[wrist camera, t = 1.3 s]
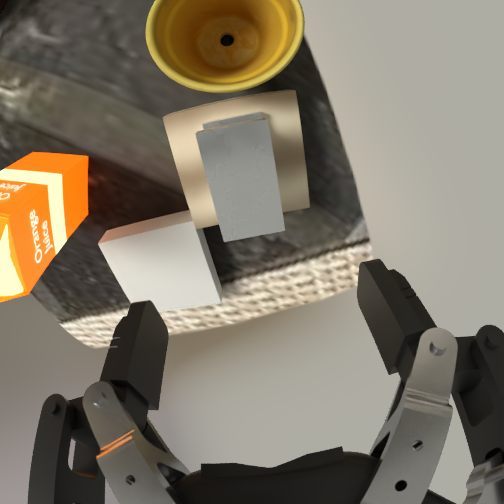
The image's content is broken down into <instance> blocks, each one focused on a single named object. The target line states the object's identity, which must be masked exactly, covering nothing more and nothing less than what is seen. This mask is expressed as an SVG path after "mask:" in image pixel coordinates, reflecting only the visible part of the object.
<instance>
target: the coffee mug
mask: <svg viewBox="0 0 504 504" xmlns="http://www.w3.org/2000/svg"><path fill="white" fill-rule="evenodd" d="M6 1H7V0H0V13H1V12H2V10H3V8H4V6H5V4H6Z"/></svg>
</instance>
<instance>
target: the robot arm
mask: <svg viewBox="0 0 504 504" xmlns="http://www.w3.org/2000/svg"><path fill="white" fill-rule="evenodd" d="M357 298H358V303H359V307H360V309H361V311H362V313H363V315H364V317H365V320H366V322H367V324H368V327H369V329H370V331H371V333H372V336H373V338H374V340H375V343H376V345H377V347H378V350H379V352H380V354H381V357H382V359H383V361H384V364H385V367H386V369H387V371H388V374H389V375H391V374H393V373H397V372H398V373H399V375H400V378H401V379H400V381H399V384H398V387H397V390H396V393H395V396H394V399H393V402H392V404H391V407H390V410H389V412H388V415H387V417H386V420H385V423H384V425H383V427H382V429H381V430H380V432H379V434H378V436H377V438H376V440H375V442H374V444H373V446H372V449H371V451H370V453H369V455H367V454H363V453H358V452H343V449H342V446H341V447H338V448H333V449H329V450H325V451H320V452H315V453H310V454H306V455H304V456H301V457H299V458H297V459H294V460H292V461H289V462H287V463H284V464H281V465H279V466H277V467H273V468H266V467H258V466H250V465H244V464H238V463H220V464H201V470H198V471H196V472H193V473H191V472H190V471H189V470H188V469H187V467H186V466H185V465H184V464H183V463H182V462H181V461H180V460H179V459H177V458H176V457H175V456H174V455H173V453H172V452H171V451H170V449H169V448H168V447H167V445H166V444H165V442H164V441H163V439H162V438H161V436H160V435H159V434H158V432H157V430H156V429H155V427H154V426H153V424H152V423H151V421H150V420H149V418H148V417H147V414H148V410H158V409H159V401H160V393H161V385H162V378H163V371H164V364H165V358H166V351H167V345H168V330H167V327H166V325H165V323H164V321H163V319H162V318H161V316H160V314H159V312H158V311H157V309H156V307H155V305H154V304H153V302H152V301H151V300H146V301H140V302H133V303H132V304H131V305H130V308H129V311H128V314H127V316H125V317H123V318H122V319H121V321H120V322H119V323H118V325H117V326H116V328H115V331H114V334H113V337H112V338H113V340H111V344H110V348H109V350H108V354H107V357H106V360H105V364H104V367H103V370H102V374H101V377H100V381H99V382H96V383H94V384H92V385H91V386H89V387H88V388H87V390H86V391H85V393H84V396H83V397H79V398H76V399H72V400H67V399H66V398H64V397H63V396H62V395H60V394H53V395H51V396H49V397H48V398H47V399H46V401H45V402H44V404H43V407H42V411H41V415H40V419H39V424H38V429H37V434H36V438H35V444H34V450H33V456H32V463H31V470H30V481H29V492H28V504H105V478H106V480H107V482H108V484H109V486H110V488H111V489H112V491H113V493H114V495H115V497H116V498H117V500H118V502H119V503H120V504H456V503H454V502H452V501H450V500H448V499H446V498H444V497H442V496H440V495H438V494H436V493H434V492H433V491H431V490H429V489H428V487H429V485H430V483H431V480H432V478H433V475H434V473H435V470H436V467H437V465H438V462H439V459H440V456H441V453H442V450H443V447H444V444H445V440H446V437H447V433H448V430H449V426H450V422H451V418H452V413H453V408H452V406H451V405H449V398H450V393H451V394H452V397H453V399H454V402H455V405H456V408H457V410H458V413H459V416H460V419H461V422H462V425H463V429H464V432H465V435H466V439H467V442H468V446H469V449H470V453H471V457H472V461H473V465H474V469H473V470H472V472H471V474H470V476H469V479H468V481H467V483H466V487H467V489H468V492H467V496H466V499H465V501H464V502H463V504H504V333H503V332H502V330H500V329H499V328H498V327H496V326H493V325H485V326H483V327H481V329H479V331H478V333H477V334H476V336H469V337H454V336H453V335H452V334H451V333H450V332H449V331H447V330H445V329H442V328H438V327H437V326H436V325H435V323H434V321H433V320H432V318H431V317H430V315H429V314H428V312H427V310H426V309H425V307H424V305H423V304H422V302H421V301H420V299H419V298H418V296H416V293H415V292H414V290H413V289H411V286H410V284H409V283H408V281H407V280H406V278H405V277H404V276H403V275H401V274H400V273H399V272H397V271H396V270H394V269H393V270H388V269H387V268H386V266H385V265H384V263H383V262H382V261H381V260H380V259H375V260H371V261H366V262H361V263H360V266H359V277H358V288H357ZM71 439H73V440H74V441H76V444H75V451H74V460H73V469H72V470H71V469H70V468H69V465H68V456H69V448H70V442H71Z"/></svg>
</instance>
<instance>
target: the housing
mask: <svg viewBox="0 0 504 504" xmlns="http://www.w3.org/2000/svg"><path fill="white" fill-rule="evenodd" d="M202 125H203V129H204V130H200V131H197V132H196V134H195V135H196V139H197V143H198V147H199V151H200V155H201V158H202V162H203V166H204V170H205V174H206V178H207V181H208V185H209V189H210V193H211V196H212V200H213V204H214V207H215V211H216V215H217V218H218V222H219V226H220V229H221V233H222V237H223V240H224V242H227V241H233V240H238V239H243V238H248V237H254V236H259V235H264V234H270V233H275V232H280V231H285V227H284V220H283V213H282V206H281V199H280V192H279V186H278V179H277V173H276V166H275V160H274V154H273V148H272V142H271V136H270V130H269V124H268V119H267V118H266V117H265V118H262V117H261V112H260V111H258V112H252V113H246V114H241V115H236V116H231V117H226V118H221V119H217V120H212V121H208V122H204V123H203V124H202Z"/></svg>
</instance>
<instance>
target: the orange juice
mask: <svg viewBox="0 0 504 504" xmlns="http://www.w3.org/2000/svg"><path fill="white" fill-rule="evenodd" d="M87 215H88V156H81V155H70V154H57V153H42V152H33V153H31V154H29V155H27V156H26V157H24V158H22V159H20V160H19V161H17V162H15V163H13V164H12V165H10V166H9V167H7V168H5V169H3V170H1V171H0V302H2V301H6V300H9V299H12V298H16V297H20V296H23V295H27V294H29V292H30V291H31V289H32V288H33V286H34V285H35V283H36V282H37V280H38V279H39V277H40V276H41V274H42V273H43V271H44V270H45V269H46V267H47V266H48V264H49V263H50V262H51V260H52V259H53V257H54V256H55V255H56V254H57V253H58V252H59V250H60V249H61V248H62V246H63V245H64V244H65V242H66V241H67V239H68V238H69V237H70V235H71V234H72V233H73V232H74V230H75V229H76V228H77V227H78V226H79V224H80V223H81V222H82V221H83V220H84V218H85V217H86V216H87Z"/></svg>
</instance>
